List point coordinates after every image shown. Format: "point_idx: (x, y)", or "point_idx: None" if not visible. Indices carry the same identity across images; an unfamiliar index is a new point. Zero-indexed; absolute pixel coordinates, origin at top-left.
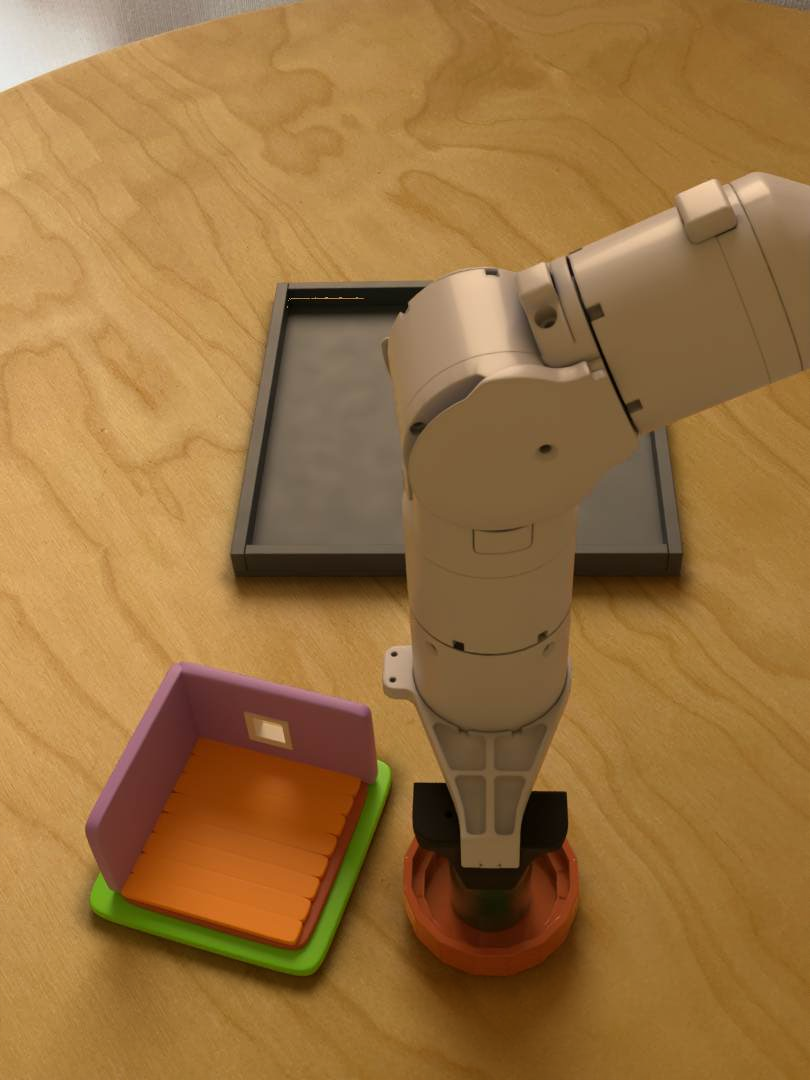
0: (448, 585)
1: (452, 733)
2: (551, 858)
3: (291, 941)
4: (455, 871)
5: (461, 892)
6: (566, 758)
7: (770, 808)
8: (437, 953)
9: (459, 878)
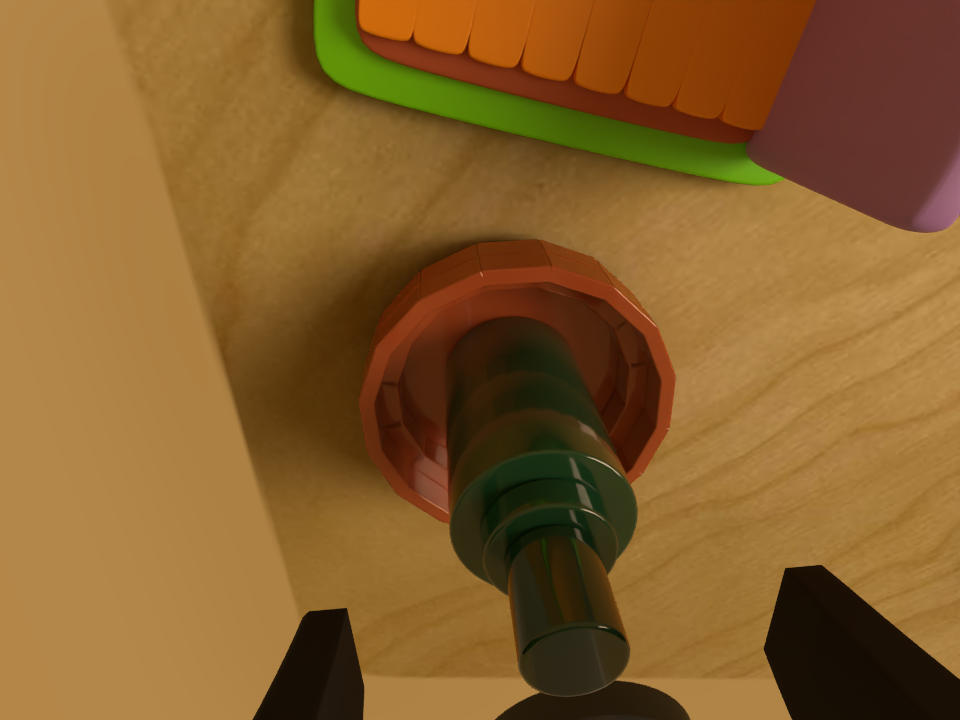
0: None
1: None
2: None
3: (359, 20)
4: (269, 694)
5: (463, 393)
6: (752, 452)
7: (643, 654)
8: (383, 317)
9: (290, 650)
